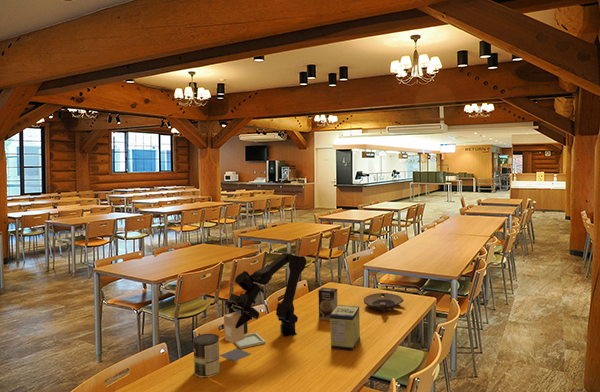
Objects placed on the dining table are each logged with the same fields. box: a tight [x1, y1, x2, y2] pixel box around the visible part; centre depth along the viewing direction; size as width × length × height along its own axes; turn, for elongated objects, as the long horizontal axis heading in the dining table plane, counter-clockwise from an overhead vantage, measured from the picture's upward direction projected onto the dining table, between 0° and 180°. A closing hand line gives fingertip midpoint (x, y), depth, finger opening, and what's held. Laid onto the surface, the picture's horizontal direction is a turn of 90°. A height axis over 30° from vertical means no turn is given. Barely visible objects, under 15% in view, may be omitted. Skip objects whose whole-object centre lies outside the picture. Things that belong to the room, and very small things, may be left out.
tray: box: [234, 332, 266, 350], centre depth 207 cm, size 12×12×2 cm
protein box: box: [329, 304, 361, 351], centre depth 202 cm, size 10×16×16 cm
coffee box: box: [318, 287, 338, 321], centre depth 236 cm, size 9×6×16 cm
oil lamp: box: [363, 292, 404, 312], centre depth 250 cm, size 22×30×8 cm
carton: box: [223, 312, 245, 344], centre depth 192 cm, size 6×6×11 cm
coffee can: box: [192, 333, 221, 378], centre depth 177 cm, size 10×10×14 cm
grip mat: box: [219, 347, 252, 363], centre depth 193 cm, size 10×10×1 cm
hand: (231, 326), depth 191 cm, fingers closed on carton, 6 cm apart
